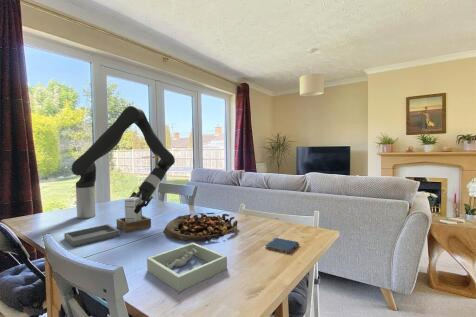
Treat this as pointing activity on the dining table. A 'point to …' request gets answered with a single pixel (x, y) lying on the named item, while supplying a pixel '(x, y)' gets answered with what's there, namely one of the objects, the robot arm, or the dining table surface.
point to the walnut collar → (133, 224)
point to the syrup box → (132, 210)
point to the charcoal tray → (91, 235)
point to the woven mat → (282, 245)
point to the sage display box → (190, 277)
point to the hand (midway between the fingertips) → (130, 211)
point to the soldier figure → (183, 259)
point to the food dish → (199, 227)
